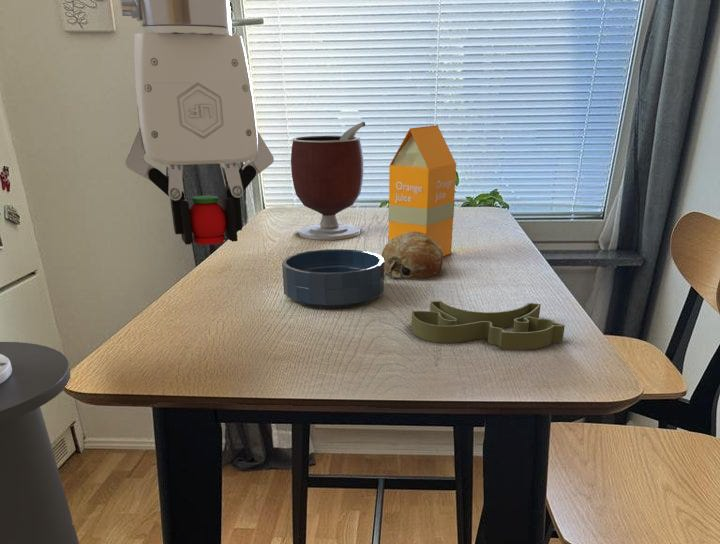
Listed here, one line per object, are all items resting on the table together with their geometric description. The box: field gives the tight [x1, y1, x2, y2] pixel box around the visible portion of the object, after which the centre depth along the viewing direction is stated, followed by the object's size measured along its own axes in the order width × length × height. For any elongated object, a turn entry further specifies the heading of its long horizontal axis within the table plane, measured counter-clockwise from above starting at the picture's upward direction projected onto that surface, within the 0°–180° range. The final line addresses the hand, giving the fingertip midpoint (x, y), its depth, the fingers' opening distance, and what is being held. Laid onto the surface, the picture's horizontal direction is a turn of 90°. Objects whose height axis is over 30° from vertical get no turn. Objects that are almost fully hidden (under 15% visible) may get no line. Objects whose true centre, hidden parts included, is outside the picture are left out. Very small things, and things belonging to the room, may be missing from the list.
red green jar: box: [189, 194, 227, 246], centre depth 65 cm, size 4×4×4 cm
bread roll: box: [381, 231, 444, 280], centre depth 106 cm, size 10×10×8 cm
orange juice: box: [388, 124, 457, 257], centre depth 112 cm, size 8×9×20 cm
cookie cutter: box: [410, 300, 566, 351], centre depth 82 cm, size 18×12×2 cm, turn 83°
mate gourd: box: [290, 121, 366, 241], centre depth 129 cm, size 16×14×20 cm
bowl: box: [281, 248, 385, 309], centre depth 95 cm, size 14×14×5 cm
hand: (209, 238), depth 66 cm, fingers closed on red green jar, 3 cm apart
